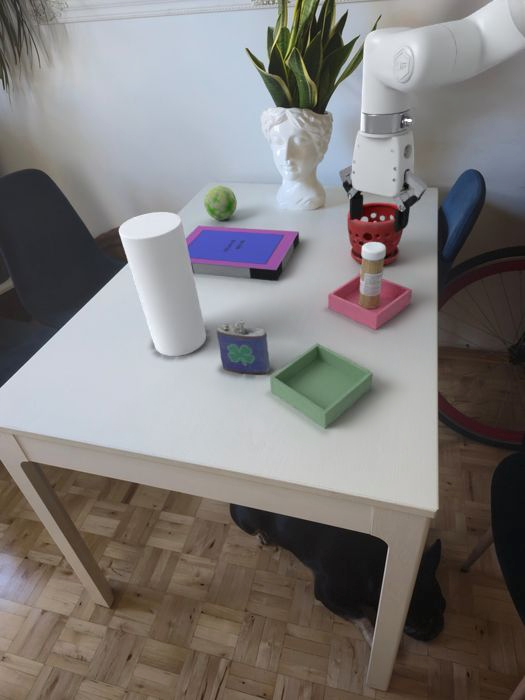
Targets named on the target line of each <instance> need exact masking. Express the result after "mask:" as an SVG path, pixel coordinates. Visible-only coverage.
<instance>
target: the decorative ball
mask: <svg viewBox="0 0 525 700" xmlns="http://www.w3.org/2000/svg"><path fill="white" fill-rule="evenodd" d="M203 204H204V205H203V206H204V209H205V210H206V213H207V214H208V216H210V217H212V218H213V219H215V220H219V221H224V220H227V219H229V218H231V217H232V216H233V215H234V213H235V211H236V210H237V205H238V202H237V197H236V195H235V193H234V191H233V190H232V189H231V188H230V187H227V186H225V185H215V186H213V187H212V188H210V189H208V191H207V192H206V194H205V197H204V203H203Z"/></svg>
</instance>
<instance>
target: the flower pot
mask: <svg viewBox="0 0 525 700" xmlns="http://www.w3.org/2000/svg"><path fill="white" fill-rule="evenodd" d="M398 209H399V208H398V206H397V205H396V203H395V204H394V203H390V202H379V201H378V202H376V201H375V202H367V203H363V214H362V216H360V217H358V218H356V219H355V220H350V210H349V211H348V212H347V233H348V237H349V238H348V239H349V243H350V246H351V250H350V256H351V258H352V259H353V260H354V261H355V262H357V263H358V264H361V265H362V255H361V253H362V246H363V245H364V244H366V243H369V242H379V243H382V244H384V245H385V247H386V253H385V257H384V263H383V266H384V265H387V264H390V263H392V262H394V261H395V260H396V259H397V258H398V256H399V254H400V249H399V247H398V245H399V244H400V242H401V239H402V235H403V233H404V229H402V230H401V231H399V232H394V220H395V211H396V210H398ZM372 214H375V216H374V217H373V216H372ZM365 217H366V218H367V221H364V220H362V219H363V218H365ZM381 217H384V219H383V220H382V219H381ZM391 217H392V219H391Z"/></svg>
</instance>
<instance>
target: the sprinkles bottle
mask: <svg viewBox="0 0 525 700" xmlns="http://www.w3.org/2000/svg"><path fill="white" fill-rule="evenodd" d="M385 253H386V247H385V245H384V244H382V243H379V242H369V243H366V244H364V245H363V246H362V253H361V255H362V264H361V268H360V274H361V277H360V296H359V305H360V306H361V307H363V308H366V309H374V308H377V307H378V306H379V305H380V292H381V286H382V278H383V275H384V265H383V263H384V257H385Z"/></svg>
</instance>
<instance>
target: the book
mask: <svg viewBox="0 0 525 700" xmlns="http://www.w3.org/2000/svg"><path fill="white" fill-rule="evenodd" d="M185 238H186V242H187V247H188V252H189V257H190V261H191V266H192V271H193V274H197V275H200V274H201V275H207V276H208V275H209V276H219V277H229V278H240V279H241V278H242V279H250V280H261V281H262V280H263V281H273V282H278V280H279V278H280V276H281V275H282V273H283V271H284V269H285V268H286V266H287V264H288V262H289V261H290V259H291V257H292V255H293V254H294V252H295V250H296V249H297V247H298V245H299V243H300V231H297V230H282V229H281V230H279V229H263V228H244V227H231V226H230V227H228V226H214V225H213V226H211V225H197V226H196V228H194V229H193V231H191V232H190V233H189V234H188V235H187V236H186V237H185Z"/></svg>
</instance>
